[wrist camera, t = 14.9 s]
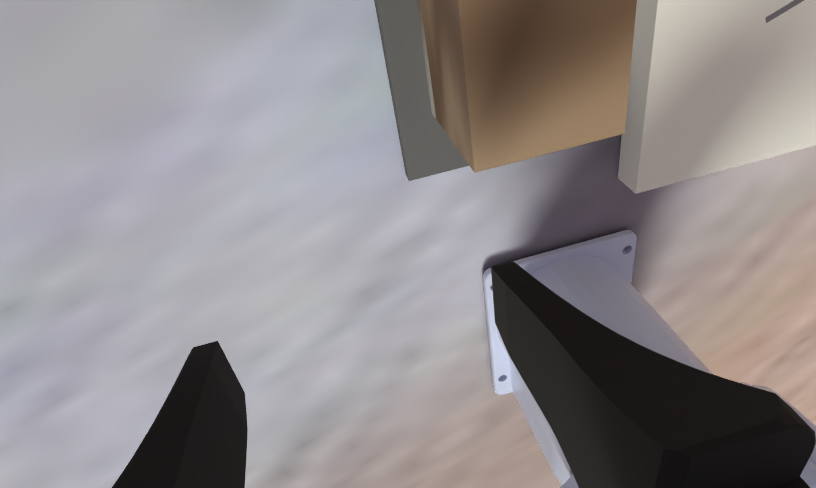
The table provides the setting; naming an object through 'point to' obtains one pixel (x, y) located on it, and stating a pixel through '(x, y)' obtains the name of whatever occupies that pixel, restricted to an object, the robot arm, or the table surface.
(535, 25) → the block
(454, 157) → the mat
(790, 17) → the board
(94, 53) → the table surface
